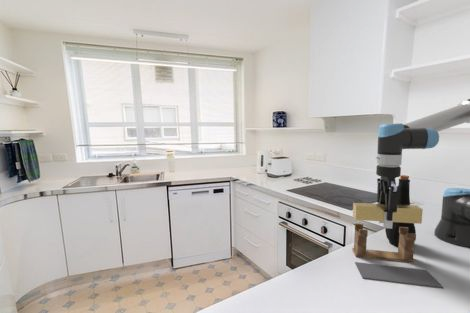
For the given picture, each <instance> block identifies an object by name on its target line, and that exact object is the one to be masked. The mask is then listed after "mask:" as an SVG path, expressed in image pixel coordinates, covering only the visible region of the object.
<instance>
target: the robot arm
mask: <svg viewBox="0 0 470 313" xmlns="http://www.w3.org/2000/svg"><path fill="white" fill-rule="evenodd" d="M465 123H466V124H470V98H469V99H466V100H463V101H461V102H459V103H458V104H457V105H456V106H452V107H449V108H448V109H445V110H442V111H438V112H436V113H433V114H430V115H427V116H424V117H421V118H419V119H414V120H412V121H410V122H407V123H404V124H403V123H382V124H380V125H379V126H378V132H377V133H378V134H377V154H376V155H377V156H375V159H376V164H377V165H376V176H379V177H380V178H377V179H376V181H377V182H376V183H377V191H376V195H377V196H376V204H385V207H386V210H383V211H384V222H383V221H378V223H379V224H383V226H382V227H383V229H385V228H390V229H392V225H393V212H397V203H398V192H399V189H400V187H399V186H398V185H397V182H396V178H400V175H402V173H401V171H402V170H401V169H402V167H401V165H402V160H403V150H417V149H418V150H419V149H420V150H421V149H422V150H425V149H426V150H427V149H433V148H435V147H436V146H437V145H438V144H439V142H440V134H439V132H441V131H443V130H447V129H450V128H453V127H455V126H459V125H462V124H465ZM441 202H442V203H441V213H440V214H441V216H440V220H439V222H438V223H437V225H436V227H435V229H434V236H435V237H436V238H437V239H439V240H441V241H443V242H445V243H448V244H451V245H455V246H460V247H464V248H470V188H464V187H463V188H460V187H450V188H446V189H445V190H444V192H443V195H442V201H441Z"/></svg>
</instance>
